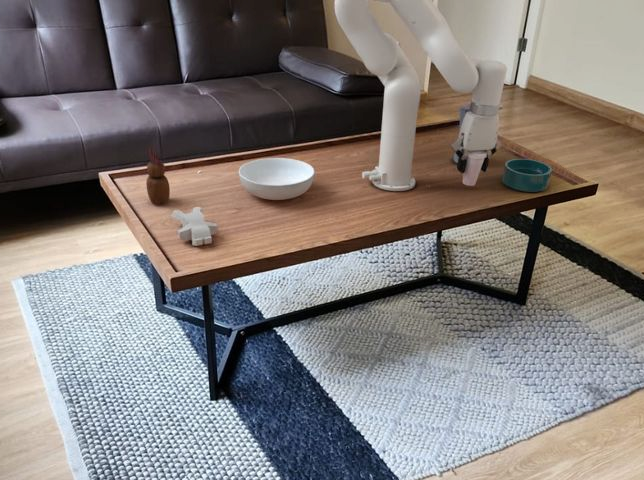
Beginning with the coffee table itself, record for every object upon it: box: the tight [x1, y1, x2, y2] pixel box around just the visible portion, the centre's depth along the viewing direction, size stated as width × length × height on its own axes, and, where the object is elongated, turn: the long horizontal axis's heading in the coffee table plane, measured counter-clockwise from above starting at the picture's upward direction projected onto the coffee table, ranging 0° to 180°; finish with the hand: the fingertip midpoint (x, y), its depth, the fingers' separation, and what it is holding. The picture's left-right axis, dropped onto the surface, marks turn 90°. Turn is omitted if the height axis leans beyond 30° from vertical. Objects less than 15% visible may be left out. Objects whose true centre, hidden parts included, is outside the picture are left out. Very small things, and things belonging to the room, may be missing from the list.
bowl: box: [501, 158, 553, 193], centre depth 190 cm, size 13×13×6 cm
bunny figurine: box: [171, 206, 219, 247], centre depth 156 cm, size 10×5×15 cm
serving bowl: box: [238, 157, 316, 201], centre depth 178 cm, size 21×21×7 cm
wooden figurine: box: [146, 145, 171, 206], centre depth 169 cm, size 7×6×15 cm
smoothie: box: [462, 150, 487, 187], centre depth 183 cm, size 6×6×14 cm
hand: (471, 170), depth 184 cm, fingers closed on smoothie, 6 cm apart
